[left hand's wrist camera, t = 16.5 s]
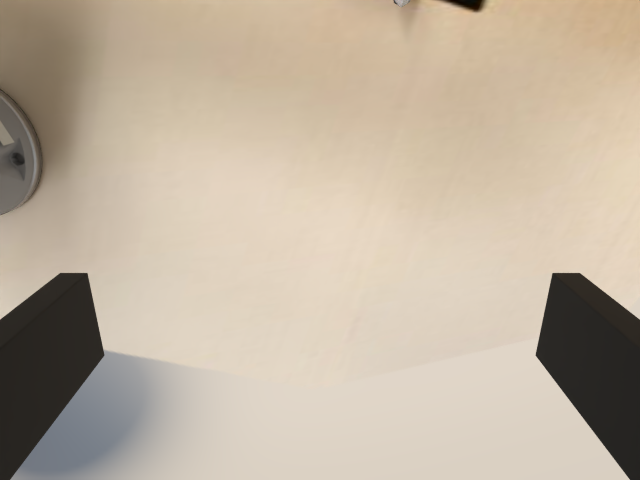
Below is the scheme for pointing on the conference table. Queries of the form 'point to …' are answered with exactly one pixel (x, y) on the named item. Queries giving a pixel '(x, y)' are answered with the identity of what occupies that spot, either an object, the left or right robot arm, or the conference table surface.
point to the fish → (401, 2)
